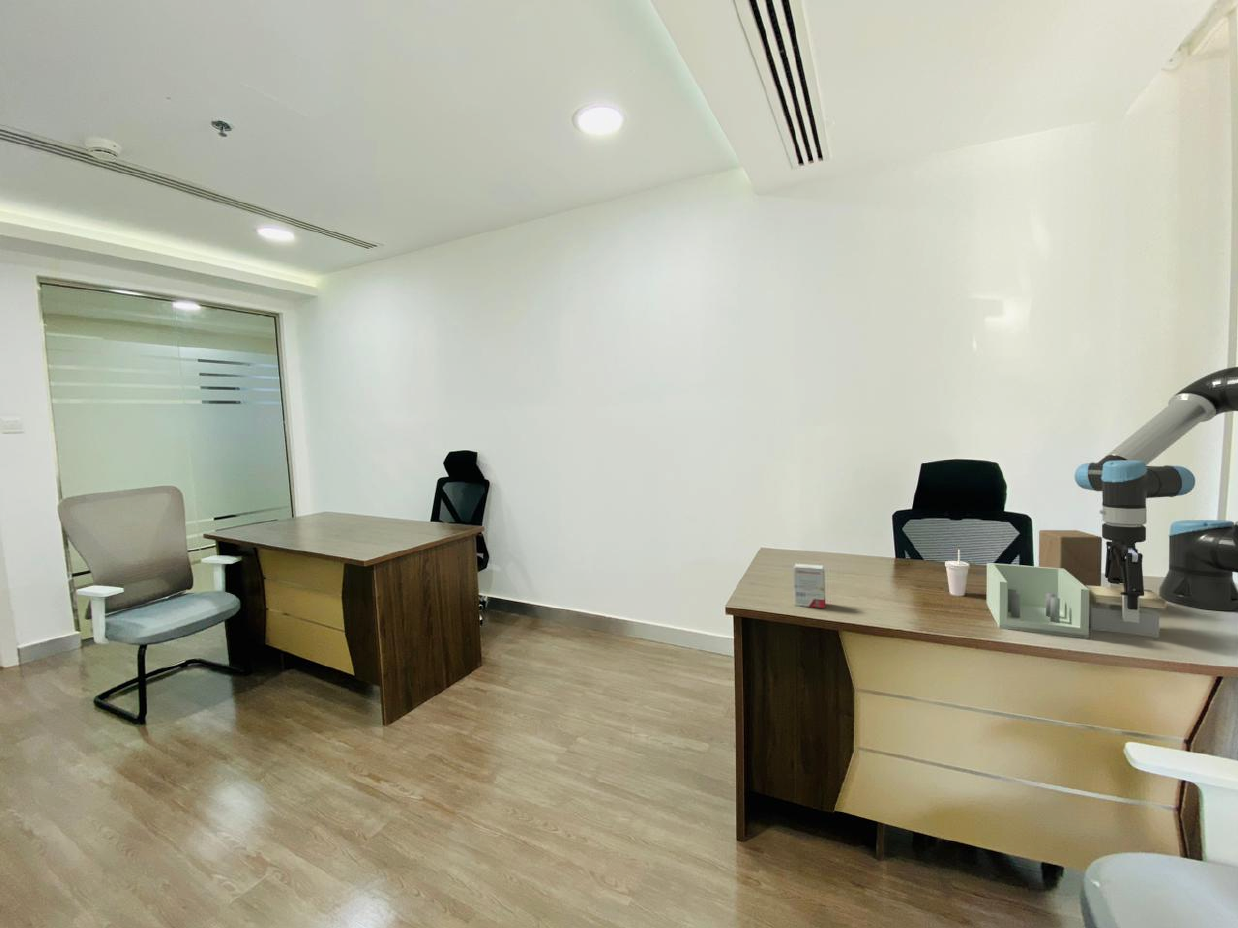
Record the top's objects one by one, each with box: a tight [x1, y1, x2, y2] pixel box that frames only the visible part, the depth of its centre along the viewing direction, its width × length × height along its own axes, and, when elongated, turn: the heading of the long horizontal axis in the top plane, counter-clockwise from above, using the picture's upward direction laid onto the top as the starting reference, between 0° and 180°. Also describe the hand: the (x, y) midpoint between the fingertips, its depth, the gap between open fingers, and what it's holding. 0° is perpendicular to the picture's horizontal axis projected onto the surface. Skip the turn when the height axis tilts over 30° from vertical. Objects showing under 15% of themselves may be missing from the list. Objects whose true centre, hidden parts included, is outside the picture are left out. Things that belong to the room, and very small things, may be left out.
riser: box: [1089, 603, 1160, 639], centre depth 122 cm, size 12×4×6 cm, turn 61°
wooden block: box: [1038, 529, 1103, 604], centre depth 142 cm, size 10×10×20 cm
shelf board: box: [1085, 585, 1167, 610], centre depth 122 cm, size 12×8×2 cm, turn 61°
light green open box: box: [986, 562, 1090, 640], centre depth 130 cm, size 17×20×12 cm
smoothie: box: [944, 548, 971, 597], centre depth 152 cm, size 6×6×14 cm
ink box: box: [793, 563, 826, 609], centre depth 147 cm, size 9×5×12 cm, turn 65°
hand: (1123, 615), depth 122 cm, fingers closed on shelf board, 8 cm apart
